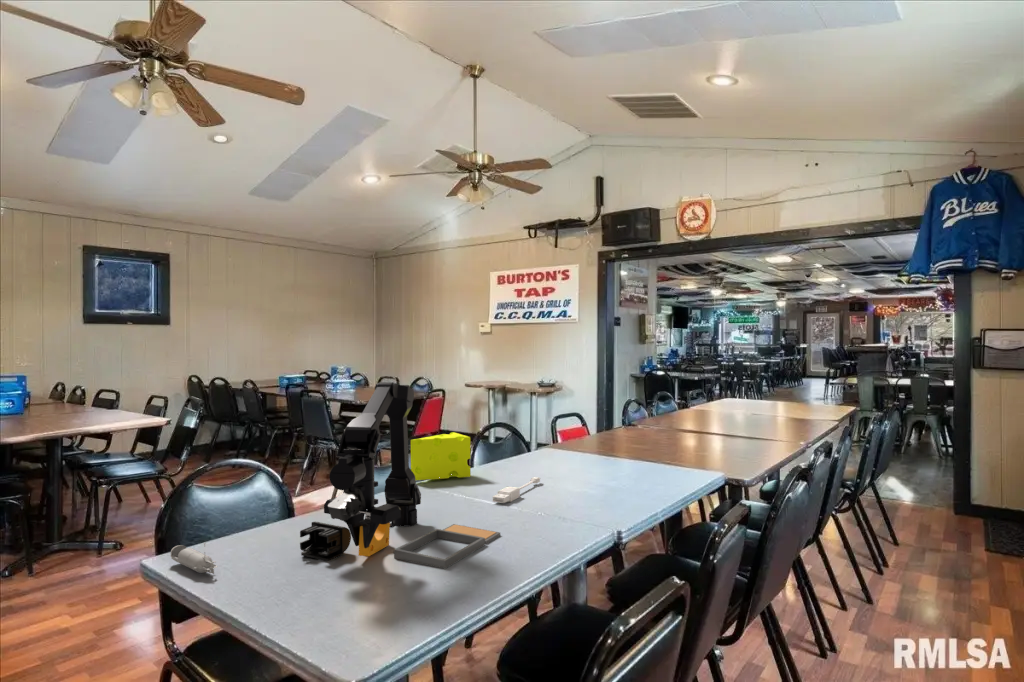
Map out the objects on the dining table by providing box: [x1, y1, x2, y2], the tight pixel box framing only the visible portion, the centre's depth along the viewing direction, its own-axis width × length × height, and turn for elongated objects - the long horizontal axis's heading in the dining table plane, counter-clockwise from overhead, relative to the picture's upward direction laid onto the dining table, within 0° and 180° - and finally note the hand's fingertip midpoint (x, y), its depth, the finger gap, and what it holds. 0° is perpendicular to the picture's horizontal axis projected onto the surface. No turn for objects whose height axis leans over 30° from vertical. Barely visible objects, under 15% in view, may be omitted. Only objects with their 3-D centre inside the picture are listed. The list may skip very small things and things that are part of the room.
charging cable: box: [492, 476, 541, 504], centre depth 192 cm, size 5×31×3 cm, turn 153°
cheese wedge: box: [410, 431, 472, 481], centre depth 216 cm, size 19×20×15 cm
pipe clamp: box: [358, 522, 391, 557], centre depth 138 cm, size 12×4×6 cm, turn 170°
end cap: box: [299, 521, 352, 562], centre depth 138 cm, size 10×7×7 cm
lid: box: [442, 523, 501, 545], centre depth 149 cm, size 15×7×1 cm, turn 61°
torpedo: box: [170, 542, 218, 575], centre depth 130 cm, size 18×5×7 cm, turn 54°
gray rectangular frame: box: [393, 528, 486, 570], centre depth 138 cm, size 15×17×2 cm
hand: (362, 546), depth 132 cm, fingers closed on pipe clamp, 2 cm apart
